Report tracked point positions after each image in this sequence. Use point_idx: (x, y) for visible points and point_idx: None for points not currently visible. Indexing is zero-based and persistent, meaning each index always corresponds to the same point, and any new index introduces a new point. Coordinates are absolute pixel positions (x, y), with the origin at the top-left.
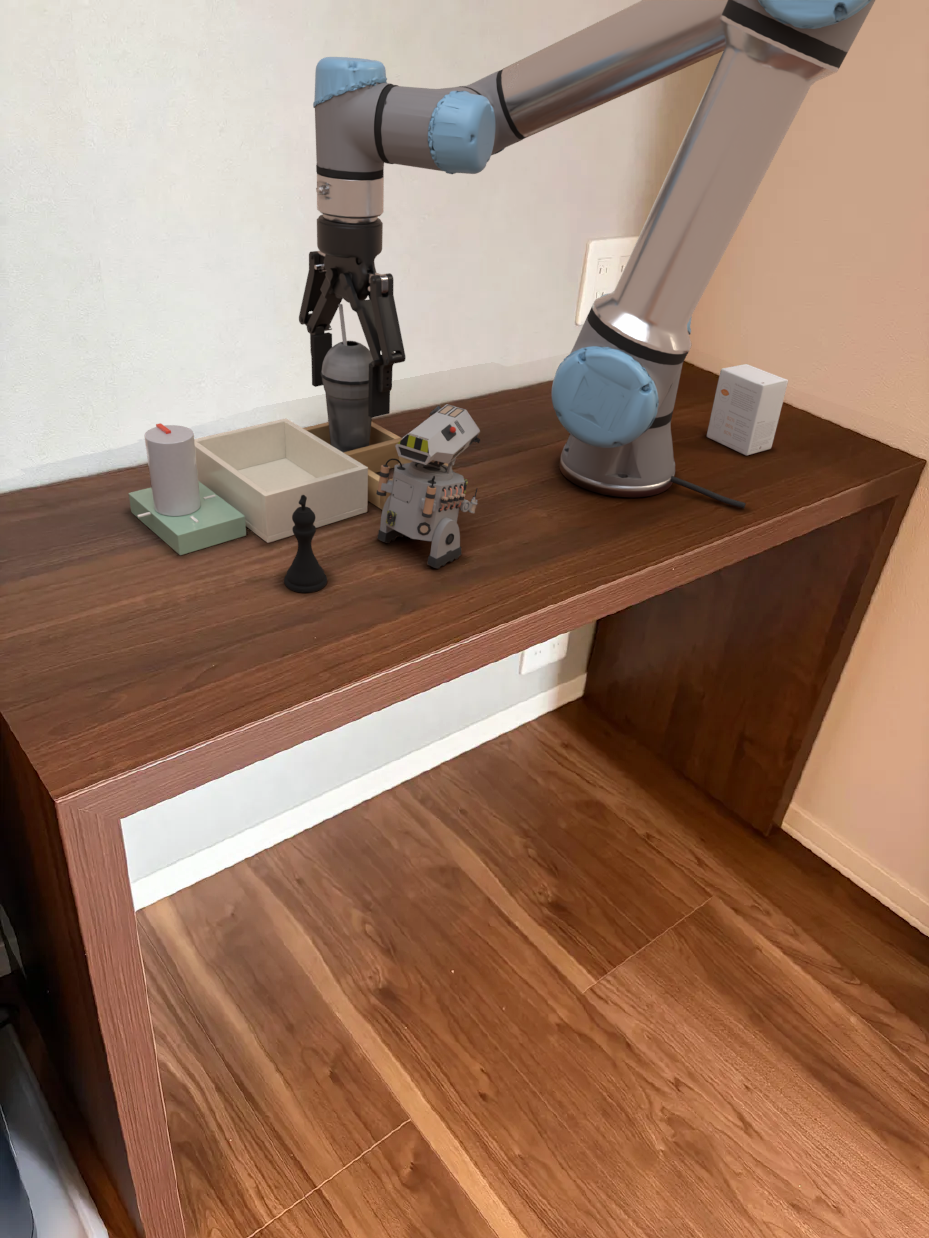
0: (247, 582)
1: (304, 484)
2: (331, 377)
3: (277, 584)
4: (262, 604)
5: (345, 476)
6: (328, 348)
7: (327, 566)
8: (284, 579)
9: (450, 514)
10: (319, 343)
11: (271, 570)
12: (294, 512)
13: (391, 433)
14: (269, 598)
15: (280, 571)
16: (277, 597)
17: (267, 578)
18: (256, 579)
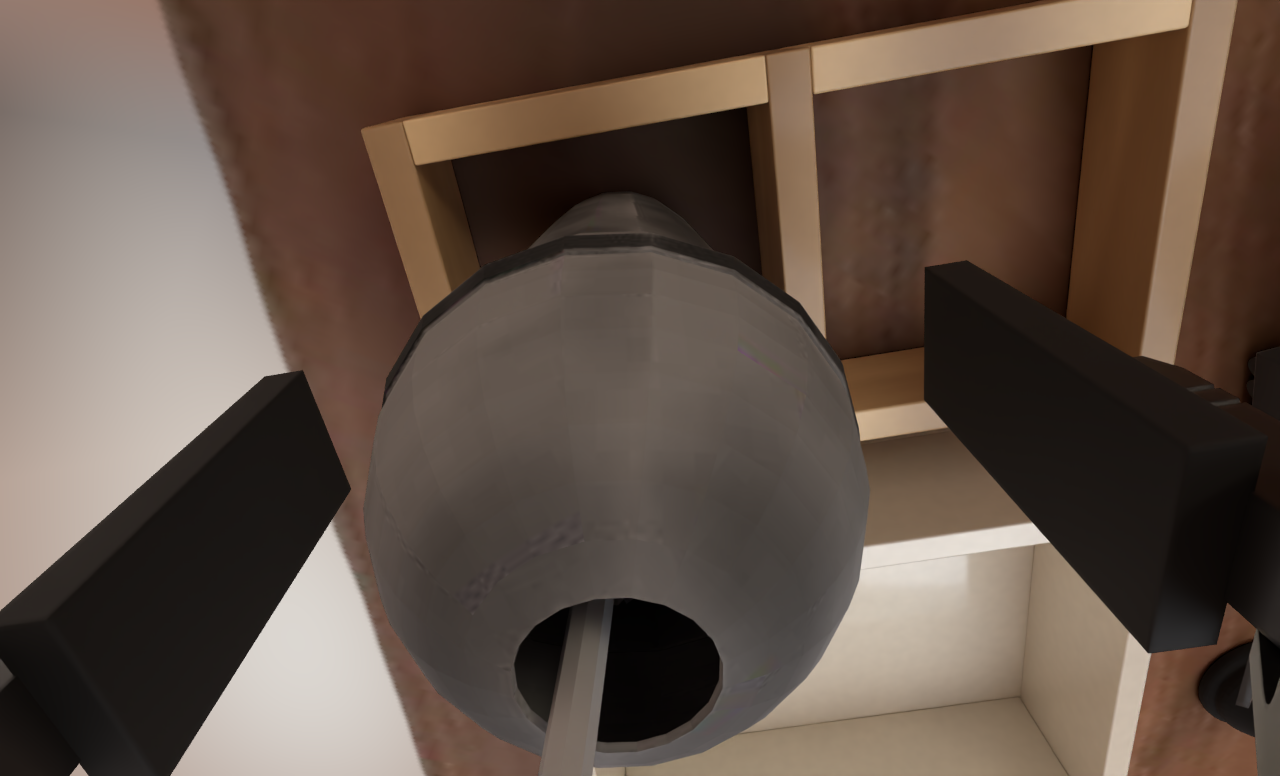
0: (1150, 765)
1: (1134, 729)
2: (705, 649)
3: (1207, 724)
4: (1249, 765)
5: None
6: (169, 553)
7: (1232, 615)
8: (1224, 721)
9: None
10: (181, 681)
11: (1145, 717)
12: None
13: (693, 81)
14: (1241, 750)
15: (1164, 704)
16: (1252, 738)
17: (1168, 732)
18: (1154, 749)
